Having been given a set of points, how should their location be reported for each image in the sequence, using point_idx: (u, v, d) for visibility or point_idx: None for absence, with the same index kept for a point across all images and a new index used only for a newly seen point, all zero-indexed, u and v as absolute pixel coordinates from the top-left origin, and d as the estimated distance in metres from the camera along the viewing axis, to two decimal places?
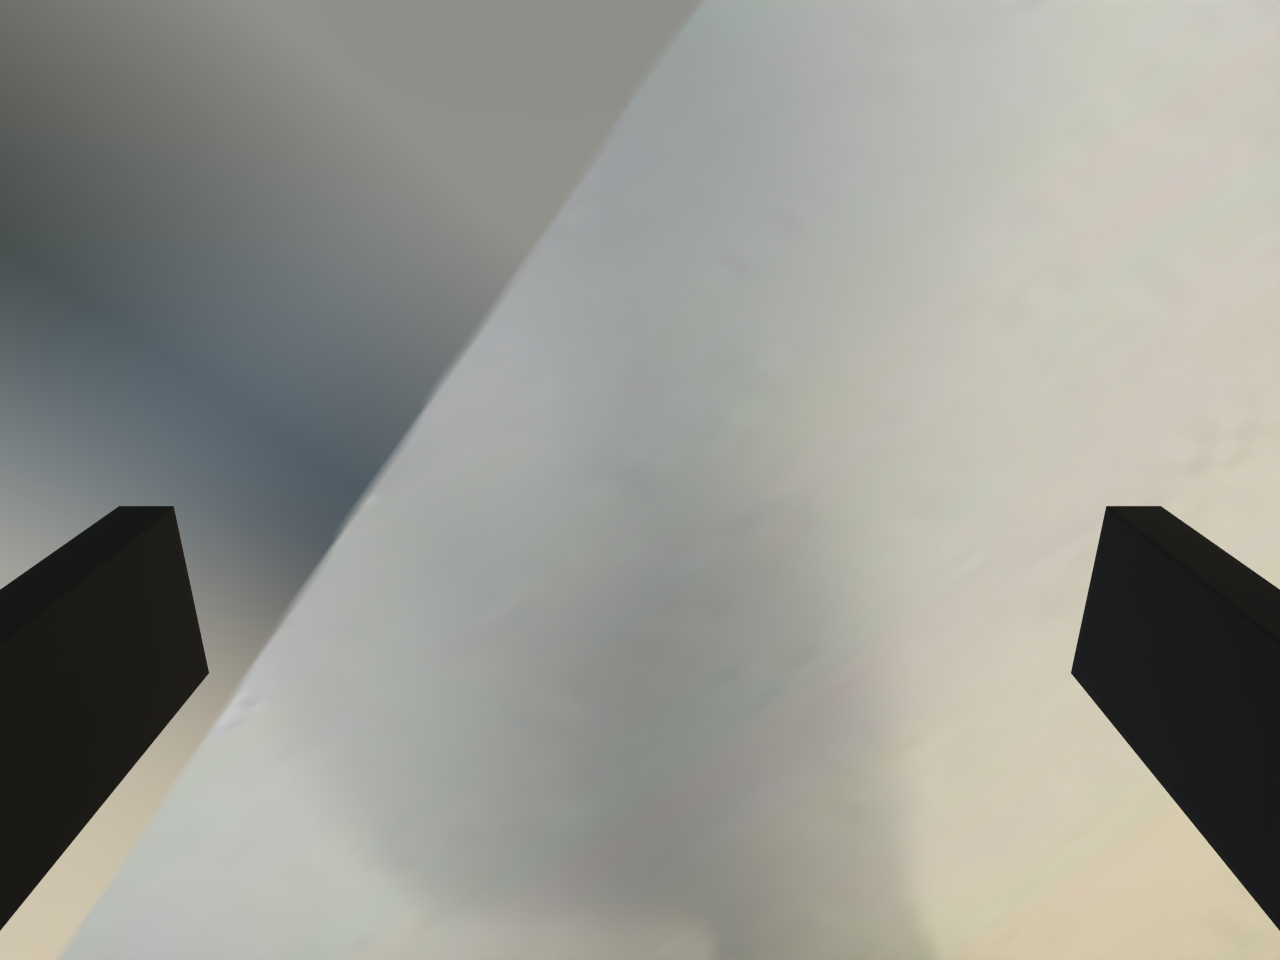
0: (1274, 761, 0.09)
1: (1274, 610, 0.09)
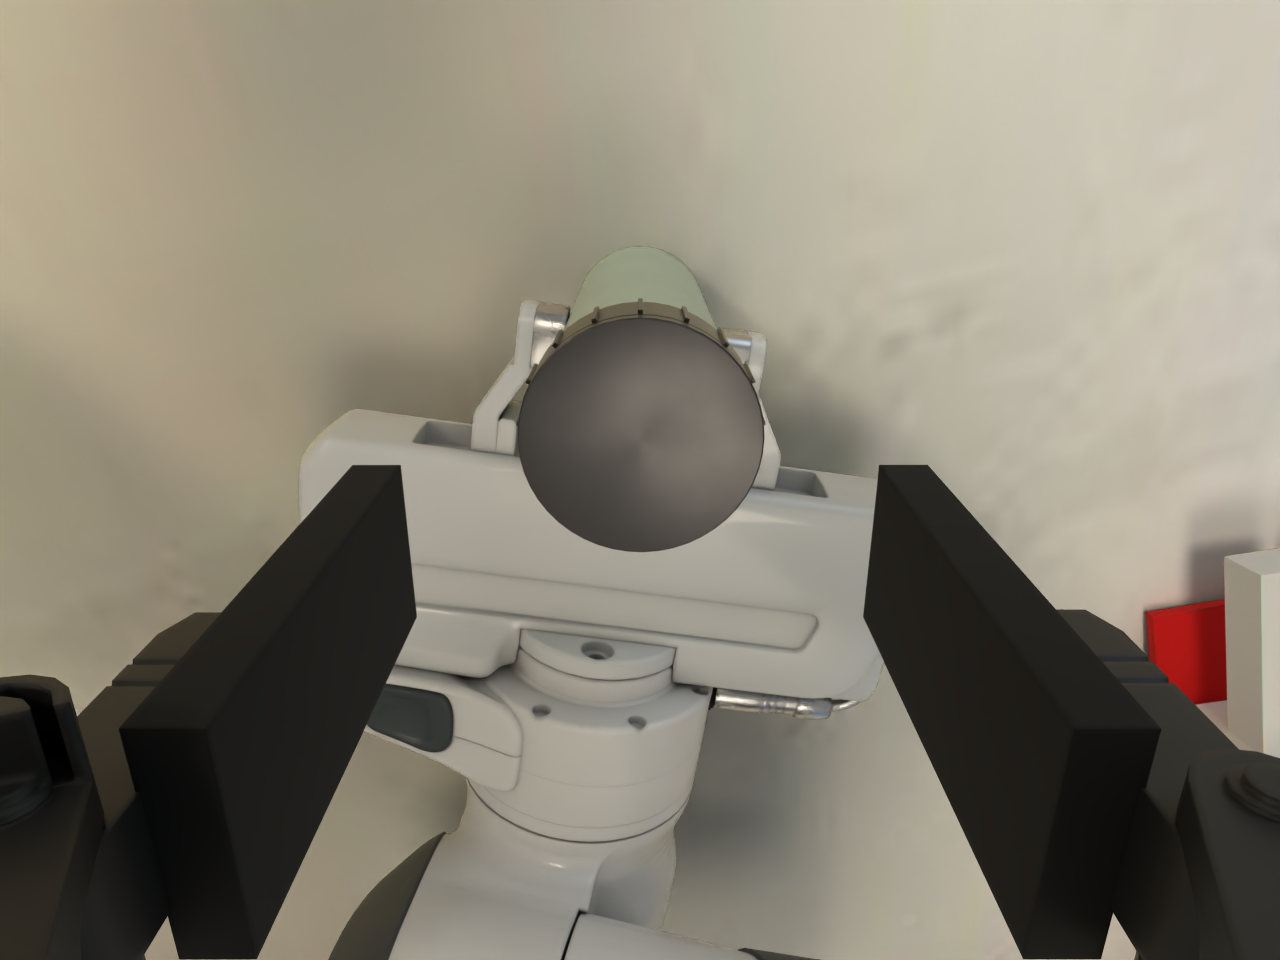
0: (952, 669, 0.10)
1: (967, 544, 0.11)
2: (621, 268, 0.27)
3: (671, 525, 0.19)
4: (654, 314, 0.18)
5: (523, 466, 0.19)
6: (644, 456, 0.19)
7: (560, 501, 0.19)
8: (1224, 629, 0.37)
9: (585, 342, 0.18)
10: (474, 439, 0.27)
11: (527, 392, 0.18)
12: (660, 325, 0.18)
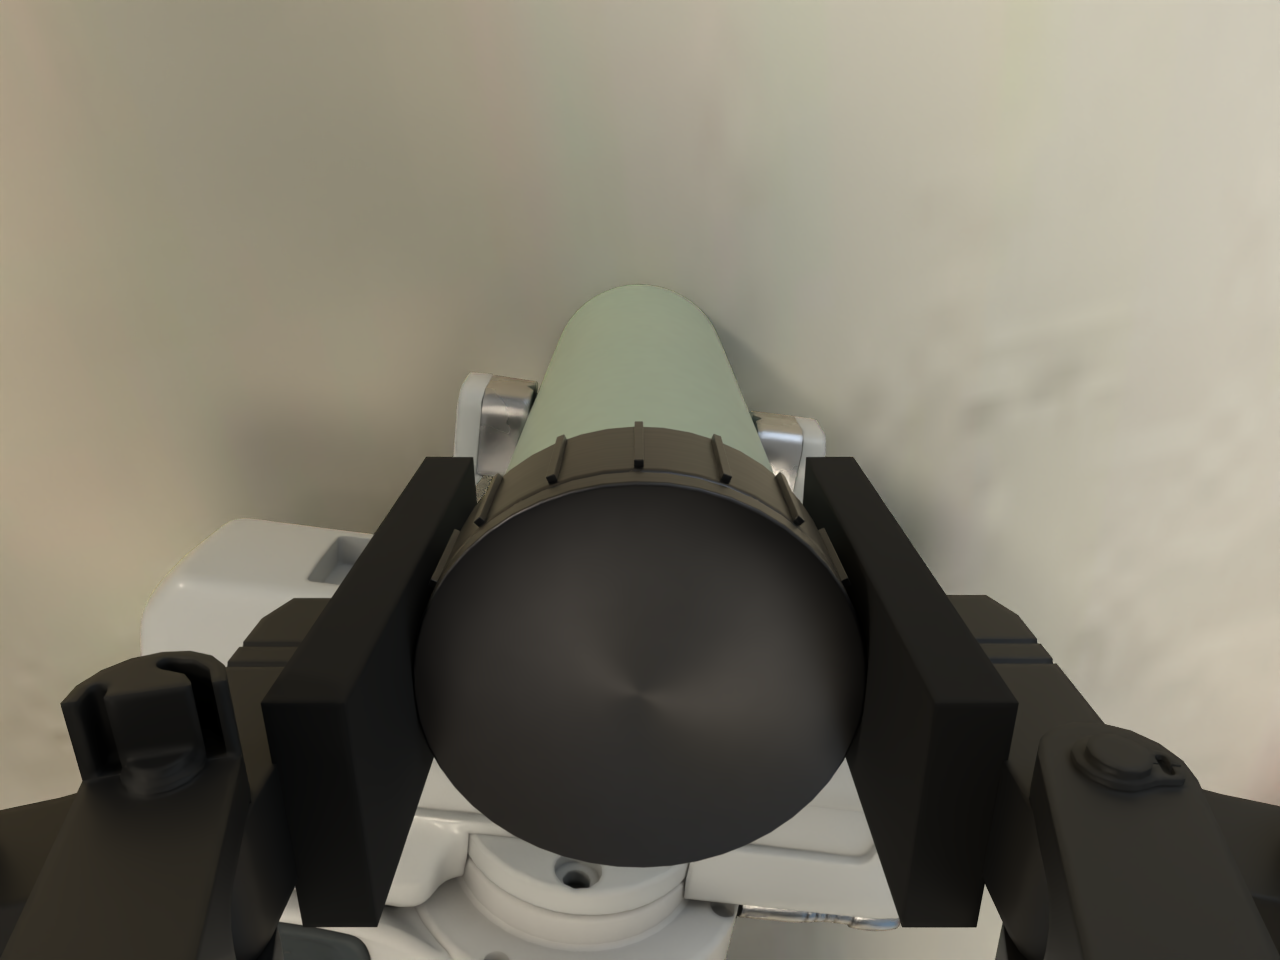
0: None
1: (873, 532, 0.11)
2: (611, 326, 0.19)
3: (694, 827, 0.11)
4: (665, 467, 0.10)
5: (425, 734, 0.10)
6: (646, 718, 0.10)
7: (494, 790, 0.11)
8: None
9: (533, 525, 0.09)
10: None
11: (426, 612, 0.10)
12: (677, 496, 0.09)
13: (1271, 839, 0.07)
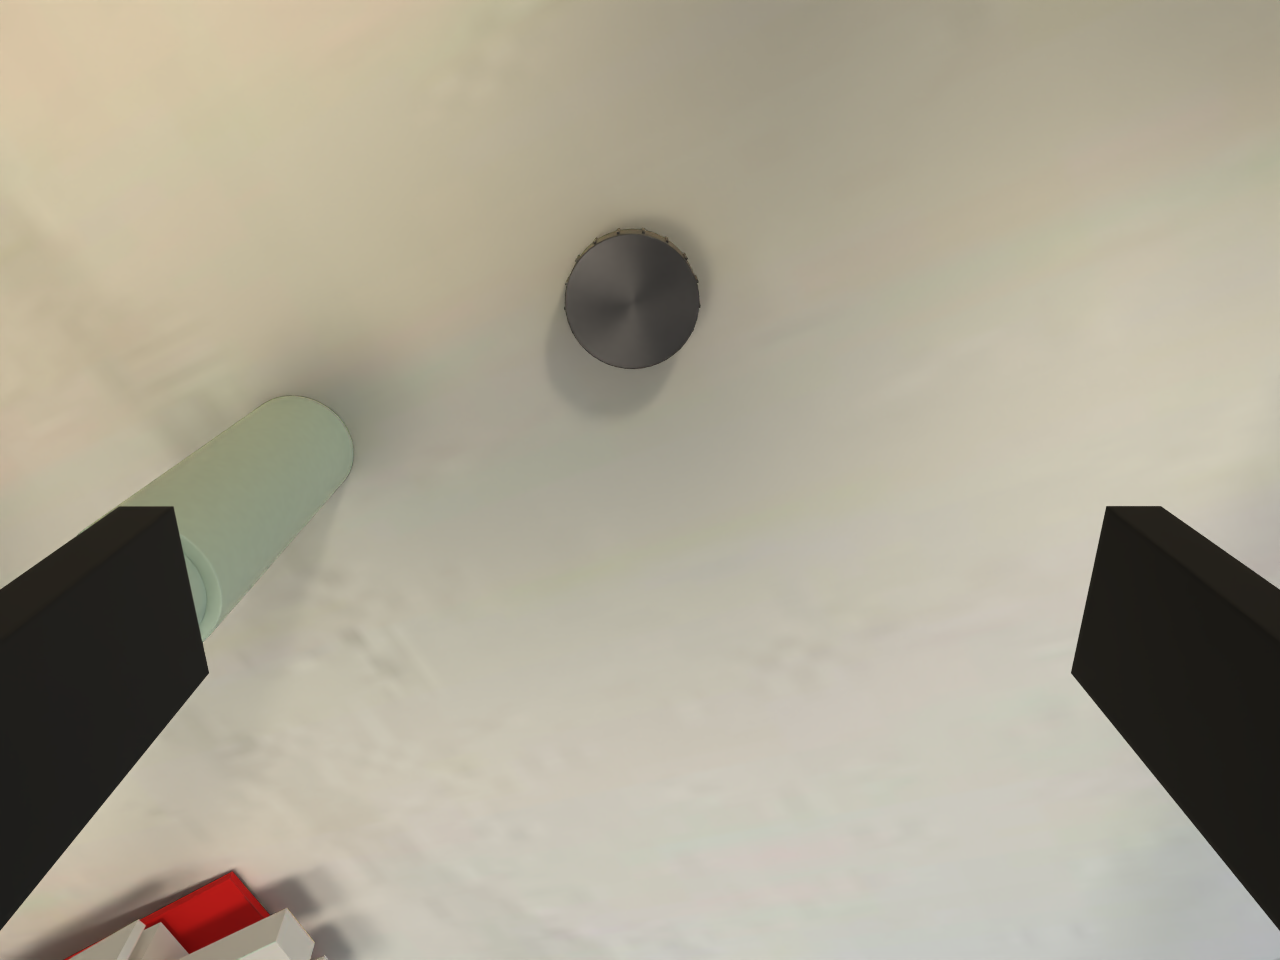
0: (1274, 760, 0.09)
1: (1274, 610, 0.09)
2: (298, 465, 0.33)
3: (684, 299, 0.34)
4: None
5: (629, 367, 0.35)
6: (640, 303, 0.34)
7: (654, 355, 0.35)
8: (242, 924, 0.48)
9: (572, 317, 0.35)
10: None
11: (590, 353, 0.35)
12: (572, 276, 0.34)
13: None
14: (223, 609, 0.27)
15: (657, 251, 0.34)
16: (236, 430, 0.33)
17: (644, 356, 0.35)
